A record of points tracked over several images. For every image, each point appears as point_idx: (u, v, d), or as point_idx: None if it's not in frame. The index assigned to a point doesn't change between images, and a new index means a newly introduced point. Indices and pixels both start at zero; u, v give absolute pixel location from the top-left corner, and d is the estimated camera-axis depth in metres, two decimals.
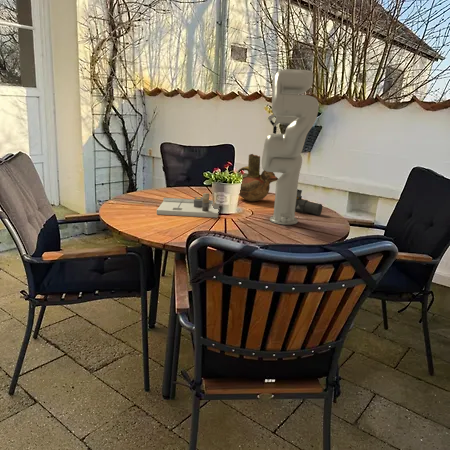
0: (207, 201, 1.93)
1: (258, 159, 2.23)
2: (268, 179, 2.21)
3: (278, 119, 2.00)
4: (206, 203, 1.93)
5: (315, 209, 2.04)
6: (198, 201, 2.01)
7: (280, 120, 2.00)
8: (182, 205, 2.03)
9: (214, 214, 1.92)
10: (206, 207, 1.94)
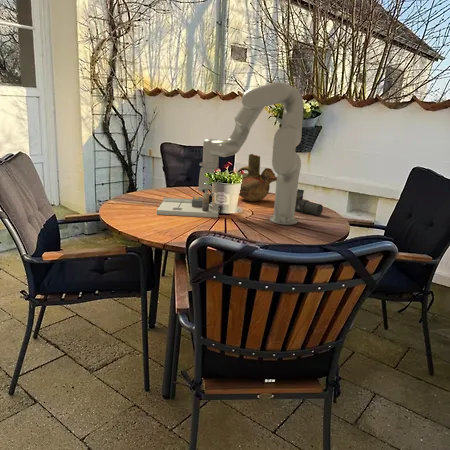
0: (207, 201, 1.93)
1: (258, 159, 2.23)
2: (268, 179, 2.21)
3: (200, 186, 2.00)
4: (206, 203, 1.93)
5: (314, 209, 2.03)
6: (196, 201, 2.01)
7: (202, 187, 2.00)
8: (182, 205, 2.03)
9: (214, 214, 1.92)
10: (206, 207, 1.94)
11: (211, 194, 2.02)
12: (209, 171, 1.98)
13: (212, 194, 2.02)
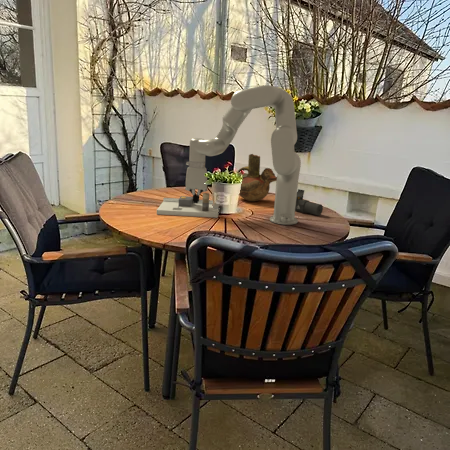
0: (207, 201, 1.93)
1: (258, 159, 2.23)
2: (268, 179, 2.21)
3: (187, 185, 2.00)
4: (206, 203, 1.93)
5: (314, 209, 2.03)
6: (183, 200, 2.01)
7: (189, 186, 2.00)
8: None
9: (214, 214, 1.92)
10: (206, 207, 1.94)
11: (198, 193, 2.03)
12: (196, 170, 1.98)
13: (199, 193, 2.02)
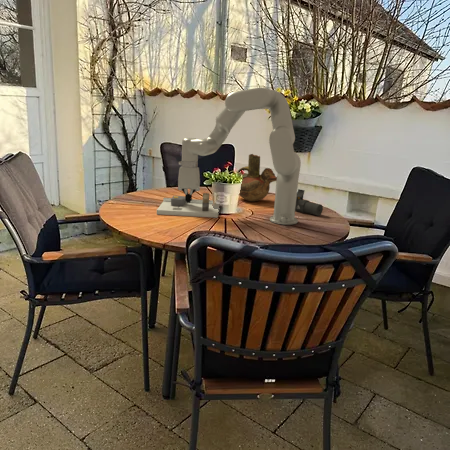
0: (207, 201, 1.93)
1: (258, 159, 2.23)
2: (268, 179, 2.21)
3: (179, 185, 2.00)
4: (206, 203, 1.93)
5: (314, 209, 2.03)
6: (175, 200, 2.01)
7: (181, 186, 2.00)
8: None
9: (214, 214, 1.92)
10: (206, 207, 1.94)
11: (190, 193, 2.03)
12: (188, 170, 1.98)
13: (191, 193, 2.02)
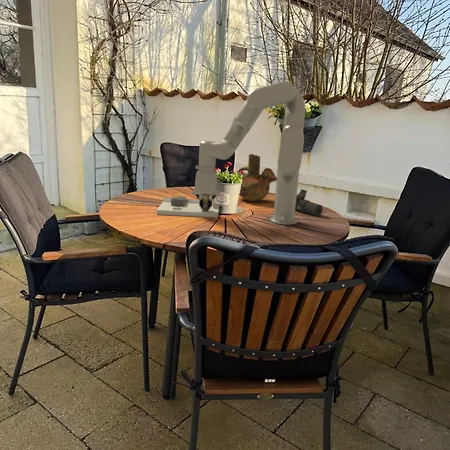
0: (207, 201, 1.93)
1: (258, 159, 2.23)
2: (268, 179, 2.21)
3: (196, 190, 1.90)
4: (206, 203, 1.93)
5: (313, 209, 2.03)
6: (175, 200, 2.01)
7: (199, 191, 1.90)
8: None
9: (214, 214, 1.92)
10: (206, 207, 1.94)
11: (211, 199, 1.93)
12: (205, 175, 1.88)
13: (212, 199, 1.93)
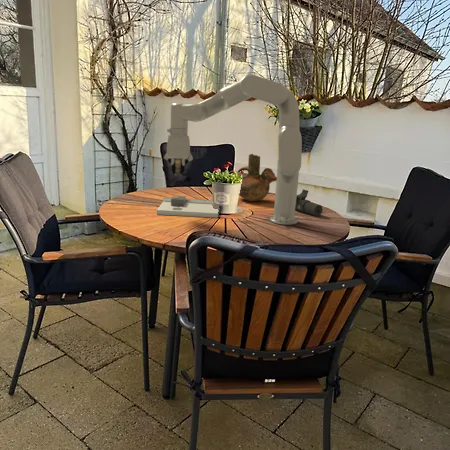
0: (179, 166, 1.89)
1: (258, 159, 2.23)
2: (268, 179, 2.21)
3: (168, 154, 1.86)
4: (178, 168, 1.89)
5: (312, 210, 2.02)
6: (175, 200, 2.01)
7: (170, 155, 1.86)
8: None
9: (214, 214, 1.92)
10: (178, 172, 1.90)
11: (183, 164, 1.89)
12: (177, 138, 1.84)
13: (184, 163, 1.89)
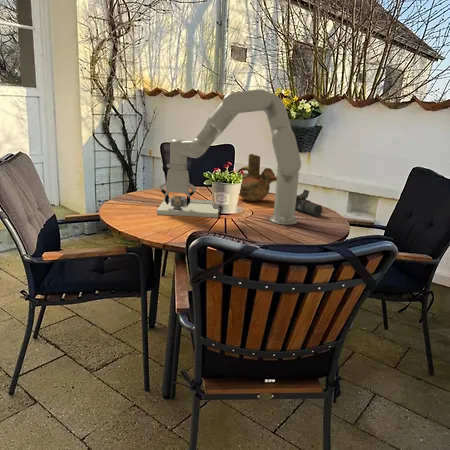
0: (179, 204, 1.94)
1: (258, 159, 2.23)
2: (268, 179, 2.21)
3: (168, 189, 1.91)
4: (178, 206, 1.94)
5: (312, 210, 2.02)
6: None
7: (170, 190, 1.91)
8: None
9: (214, 214, 1.92)
10: None
11: (188, 195, 1.93)
12: (176, 173, 1.89)
13: (189, 195, 1.92)
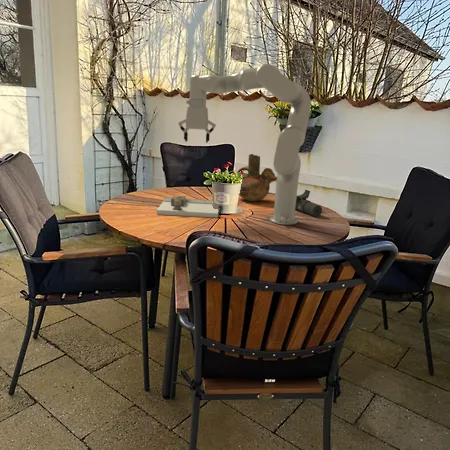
0: (179, 204, 1.94)
1: (258, 159, 2.23)
2: (268, 179, 2.21)
3: (187, 125, 1.92)
4: (178, 206, 1.94)
5: (311, 210, 2.02)
6: None
7: (189, 126, 1.92)
8: None
9: (214, 214, 1.92)
10: None
11: (208, 132, 1.95)
12: (196, 109, 1.90)
13: (208, 131, 1.94)
